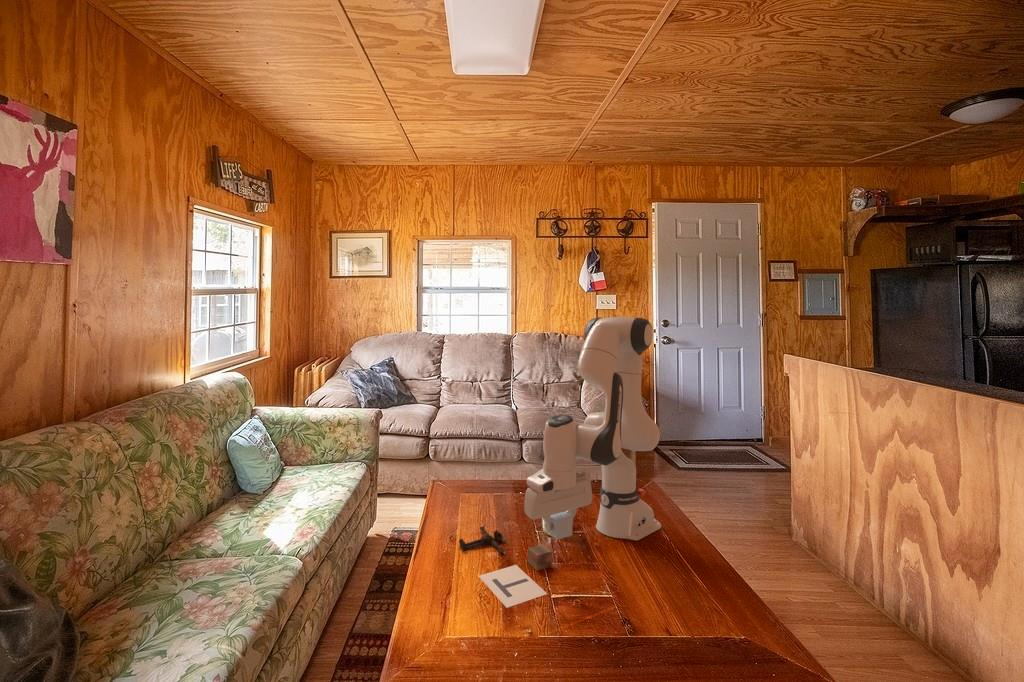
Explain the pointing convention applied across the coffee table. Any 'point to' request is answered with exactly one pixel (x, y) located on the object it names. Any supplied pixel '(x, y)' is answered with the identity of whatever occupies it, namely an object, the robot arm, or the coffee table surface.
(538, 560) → the walnut block
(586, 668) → the coffee table surface
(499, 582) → the letter card
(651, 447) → the robot arm
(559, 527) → the grey cube
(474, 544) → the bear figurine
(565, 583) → the coffee table surface
